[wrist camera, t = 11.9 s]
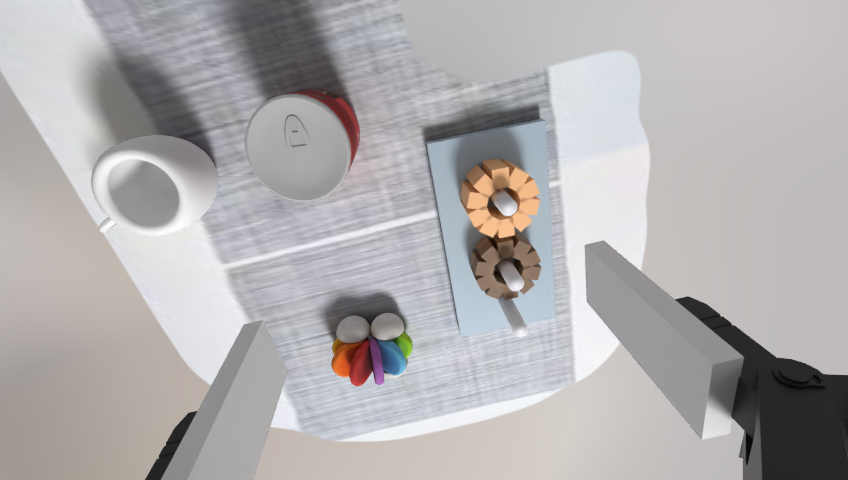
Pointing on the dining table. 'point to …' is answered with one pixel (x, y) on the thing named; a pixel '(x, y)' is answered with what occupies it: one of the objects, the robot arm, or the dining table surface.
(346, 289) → the dining table surface
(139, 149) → the mug
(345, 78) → the dining table surface
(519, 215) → the gear
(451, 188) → the gear board
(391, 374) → the multicolored petal toy
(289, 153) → the canned food
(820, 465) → the robot arm
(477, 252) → the gear
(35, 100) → the dining table surface
